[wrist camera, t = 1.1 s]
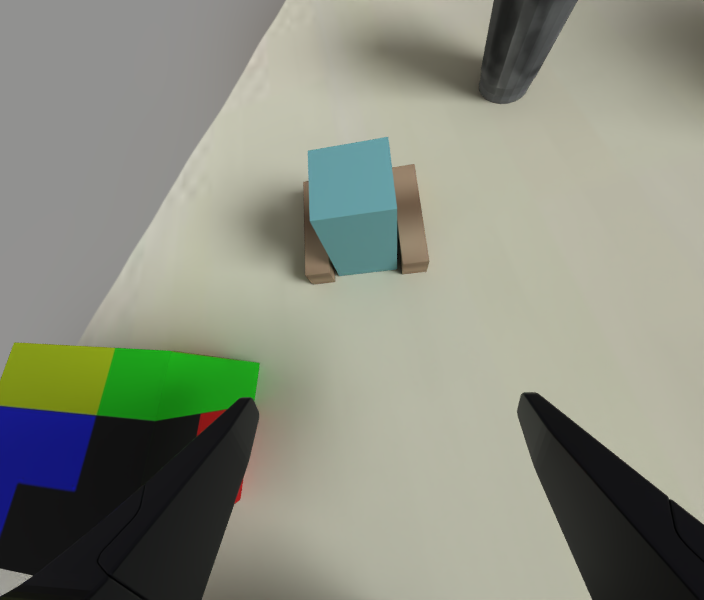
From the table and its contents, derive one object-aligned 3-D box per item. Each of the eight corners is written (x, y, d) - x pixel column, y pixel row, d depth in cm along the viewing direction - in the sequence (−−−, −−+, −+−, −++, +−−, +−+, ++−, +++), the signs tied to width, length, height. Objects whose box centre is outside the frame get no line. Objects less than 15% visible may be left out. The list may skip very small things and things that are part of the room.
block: (396, 269, 24) (397, 208, 16) (339, 275, 25) (309, 221, 16) (390, 217, 26) (387, 136, 17) (336, 225, 26) (307, 150, 18)
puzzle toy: (125, 483, 23) (-65, 554, 14) (155, 356, 26) (14, 342, 16) (240, 499, 21) (116, 592, 12) (260, 362, 24) (171, 351, 15)
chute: (426, 271, 24) (429, 261, 22) (312, 284, 25) (305, 275, 23) (412, 181, 27) (414, 164, 24) (310, 196, 28) (303, 181, 26)
